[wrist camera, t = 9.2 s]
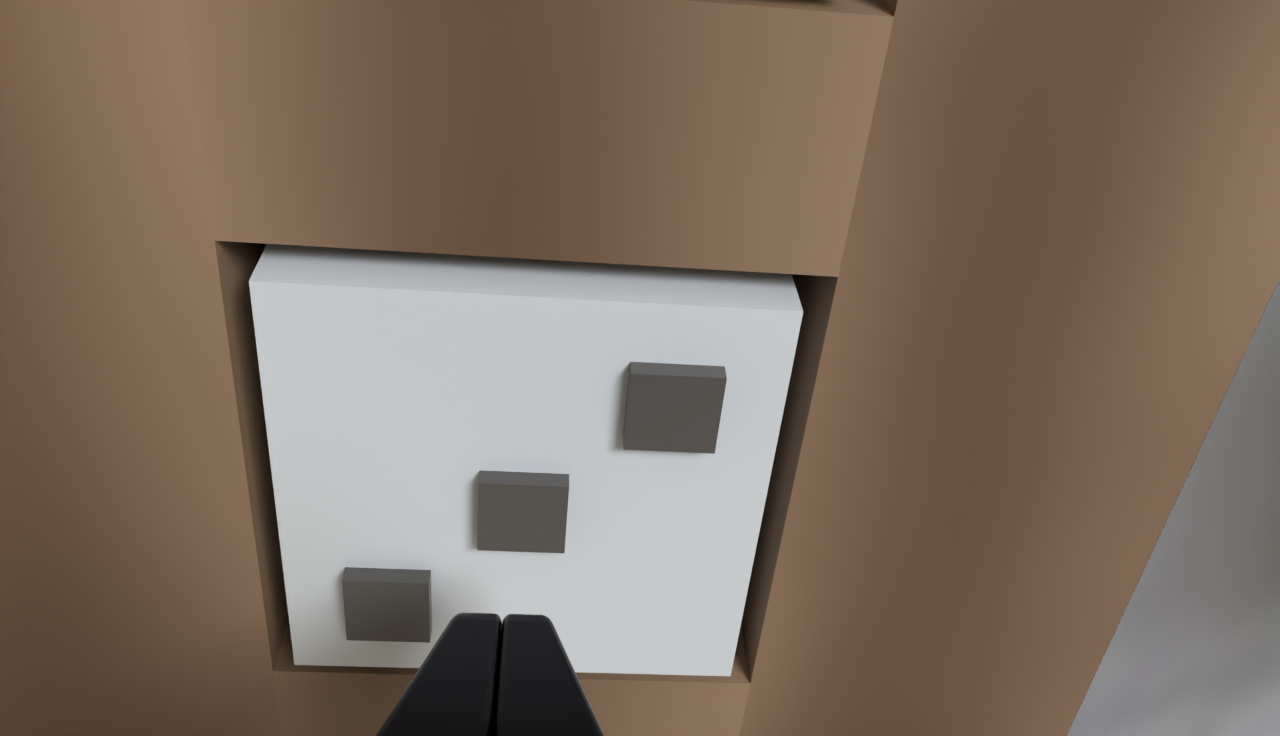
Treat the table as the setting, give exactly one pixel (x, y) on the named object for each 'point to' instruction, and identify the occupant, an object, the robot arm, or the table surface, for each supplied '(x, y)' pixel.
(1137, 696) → the table surface
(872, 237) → the board
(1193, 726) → the table surface
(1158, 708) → the table surface
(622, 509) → the three pip button
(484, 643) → the robot arm
